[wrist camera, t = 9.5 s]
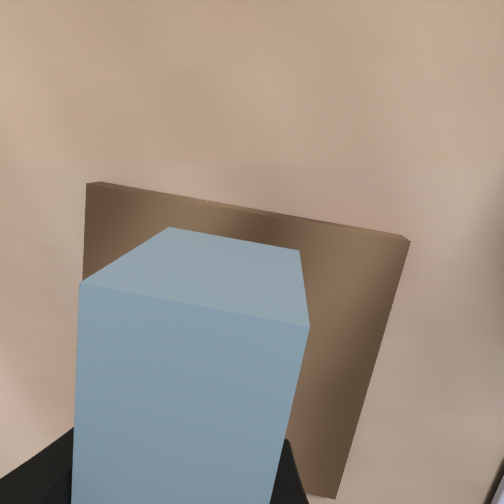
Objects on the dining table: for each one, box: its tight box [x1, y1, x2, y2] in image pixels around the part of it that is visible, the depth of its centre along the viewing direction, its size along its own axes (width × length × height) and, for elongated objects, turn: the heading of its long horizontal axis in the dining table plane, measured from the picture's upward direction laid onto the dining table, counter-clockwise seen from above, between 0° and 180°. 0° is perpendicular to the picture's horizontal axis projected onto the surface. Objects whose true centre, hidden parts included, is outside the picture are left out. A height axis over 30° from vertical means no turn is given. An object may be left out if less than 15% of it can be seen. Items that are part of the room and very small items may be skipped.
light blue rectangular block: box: [71, 227, 310, 504], centre depth 10 cm, size 11×4×5 cm, turn 171°
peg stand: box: [82, 182, 411, 499], centre depth 14 cm, size 12×12×4 cm
